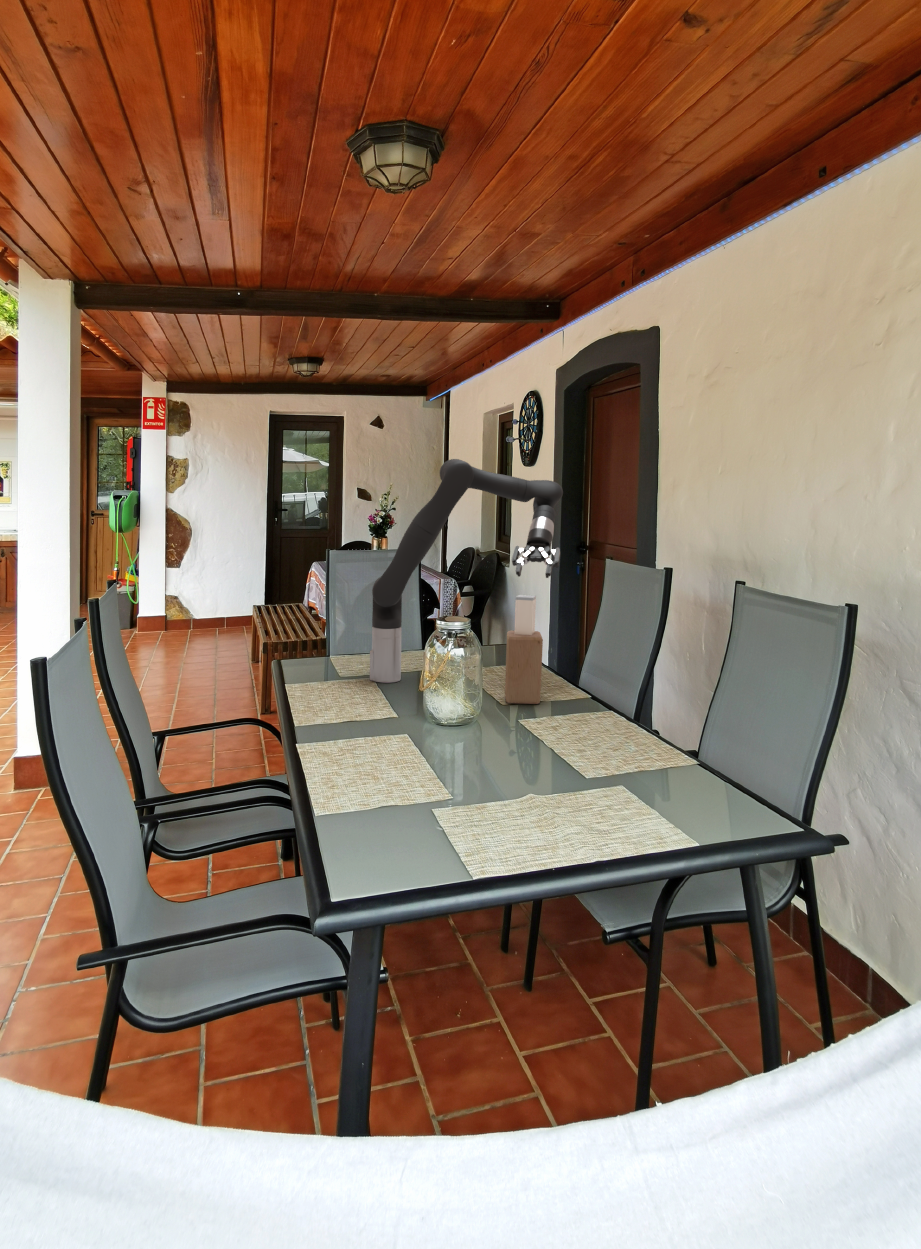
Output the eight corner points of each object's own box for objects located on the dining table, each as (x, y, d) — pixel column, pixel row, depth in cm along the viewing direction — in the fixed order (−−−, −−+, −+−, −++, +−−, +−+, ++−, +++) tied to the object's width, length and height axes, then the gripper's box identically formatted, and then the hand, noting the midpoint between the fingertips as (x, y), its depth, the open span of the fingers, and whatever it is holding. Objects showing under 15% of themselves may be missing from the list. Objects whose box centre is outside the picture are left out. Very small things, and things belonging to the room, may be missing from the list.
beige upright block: (514, 634, 234) (515, 596, 232) (517, 631, 239) (519, 594, 237) (531, 635, 233) (533, 597, 231) (534, 632, 238) (536, 595, 236)
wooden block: (540, 705, 234) (543, 636, 231) (505, 704, 234) (507, 635, 231) (538, 696, 244) (540, 630, 241) (504, 695, 244) (506, 629, 241)
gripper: (516, 526, 250) (507, 566, 241) (562, 527, 247) (555, 568, 238) (519, 542, 256) (510, 582, 247) (564, 544, 253) (557, 584, 244)
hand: (532, 575), depth 243 cm, fingers open, 8 cm apart
